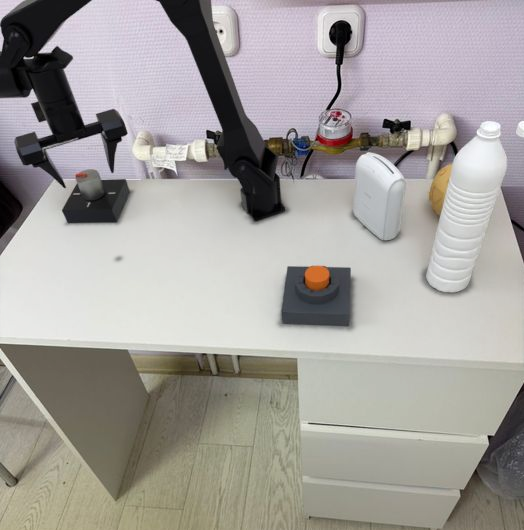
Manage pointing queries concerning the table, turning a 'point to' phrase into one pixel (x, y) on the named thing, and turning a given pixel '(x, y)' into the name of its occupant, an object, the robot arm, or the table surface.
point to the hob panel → (97, 204)
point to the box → (317, 298)
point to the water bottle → (468, 208)
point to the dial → (90, 184)
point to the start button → (317, 277)
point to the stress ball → (439, 188)
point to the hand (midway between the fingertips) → (88, 179)
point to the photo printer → (378, 195)
